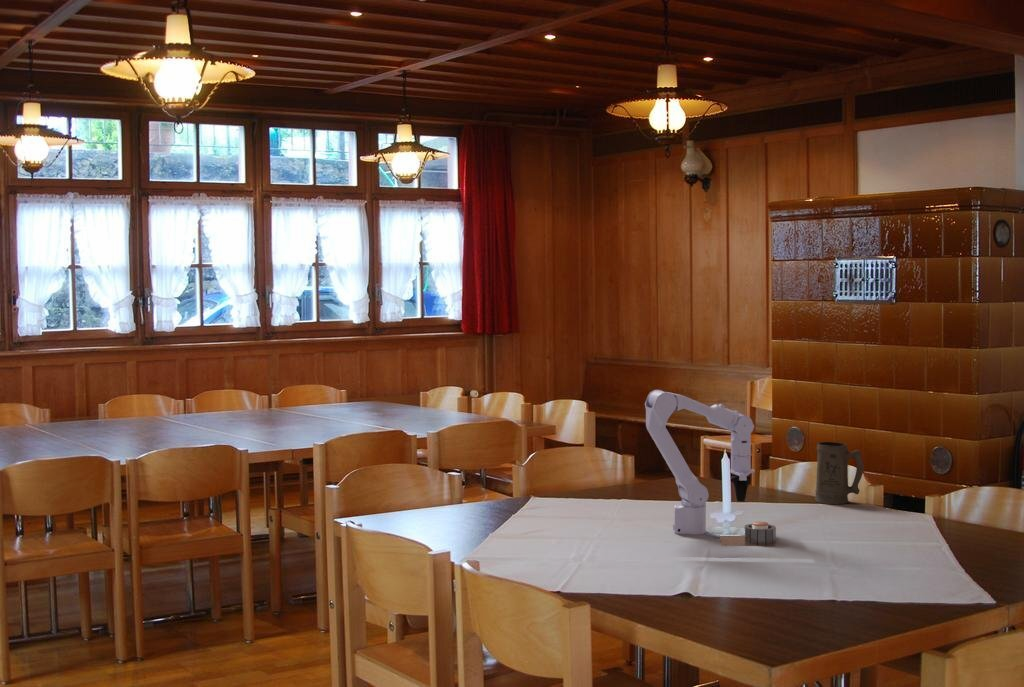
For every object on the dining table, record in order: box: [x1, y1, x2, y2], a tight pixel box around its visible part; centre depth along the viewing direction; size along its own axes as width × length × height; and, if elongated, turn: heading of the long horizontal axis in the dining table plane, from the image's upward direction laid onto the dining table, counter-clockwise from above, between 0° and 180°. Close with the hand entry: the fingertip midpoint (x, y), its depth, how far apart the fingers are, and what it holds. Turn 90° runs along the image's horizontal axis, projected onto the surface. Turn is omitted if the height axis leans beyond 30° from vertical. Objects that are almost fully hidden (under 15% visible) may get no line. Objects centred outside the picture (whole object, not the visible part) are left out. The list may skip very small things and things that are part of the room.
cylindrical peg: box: [751, 521, 769, 529], centre depth 327 cm, size 4×4×5 cm
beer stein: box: [814, 441, 864, 505], centre depth 388 cm, size 15×11×20 cm
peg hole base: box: [718, 523, 778, 547], centre depth 327 cm, size 15×13×5 cm
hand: (740, 501), depth 342 cm, fingers closed
